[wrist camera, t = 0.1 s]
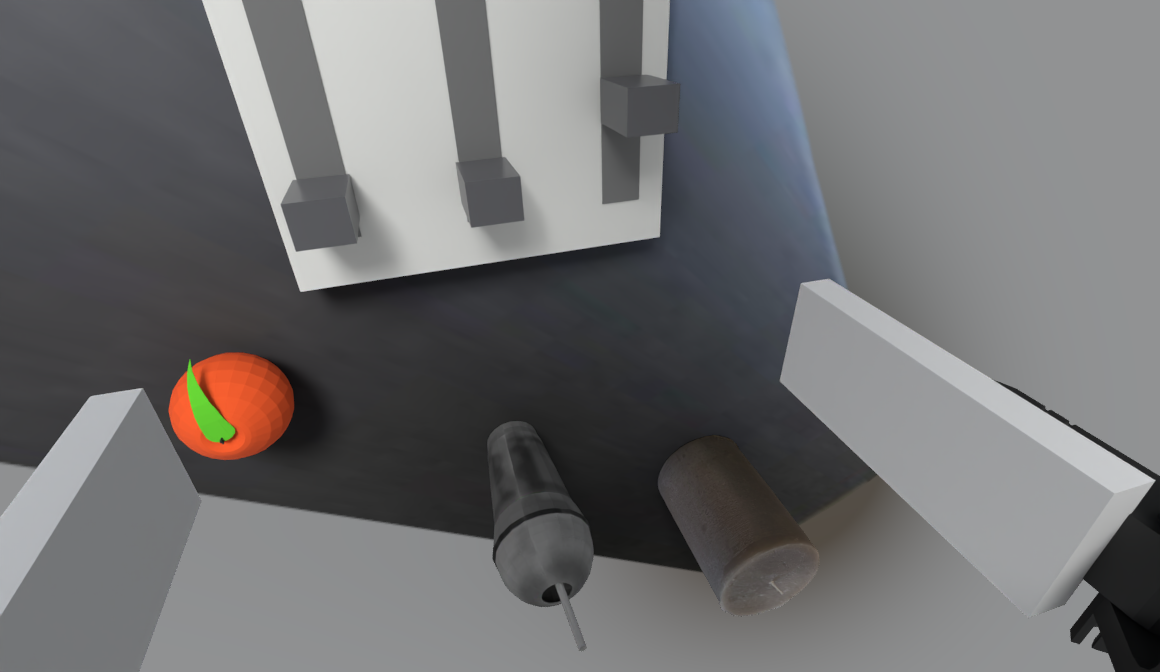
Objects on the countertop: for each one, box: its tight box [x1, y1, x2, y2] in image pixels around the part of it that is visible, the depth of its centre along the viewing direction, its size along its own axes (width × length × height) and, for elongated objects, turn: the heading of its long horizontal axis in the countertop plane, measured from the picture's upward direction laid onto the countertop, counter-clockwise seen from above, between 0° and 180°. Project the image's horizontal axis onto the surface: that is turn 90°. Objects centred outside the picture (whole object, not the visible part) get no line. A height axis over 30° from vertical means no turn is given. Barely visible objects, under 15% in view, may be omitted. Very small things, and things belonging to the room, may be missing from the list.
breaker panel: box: [202, 0, 670, 292], centre depth 31 cm, size 19×24×8 cm
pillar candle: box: [658, 435, 819, 616], centre depth 53 cm, size 10×10×15 cm
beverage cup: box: [487, 421, 594, 651], centre depth 41 cm, size 7×7×20 cm
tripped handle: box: [600, 75, 680, 138], centre depth 32 cm, size 2×3×4 cm
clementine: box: [169, 353, 294, 460], centre depth 36 cm, size 8×7×7 cm
